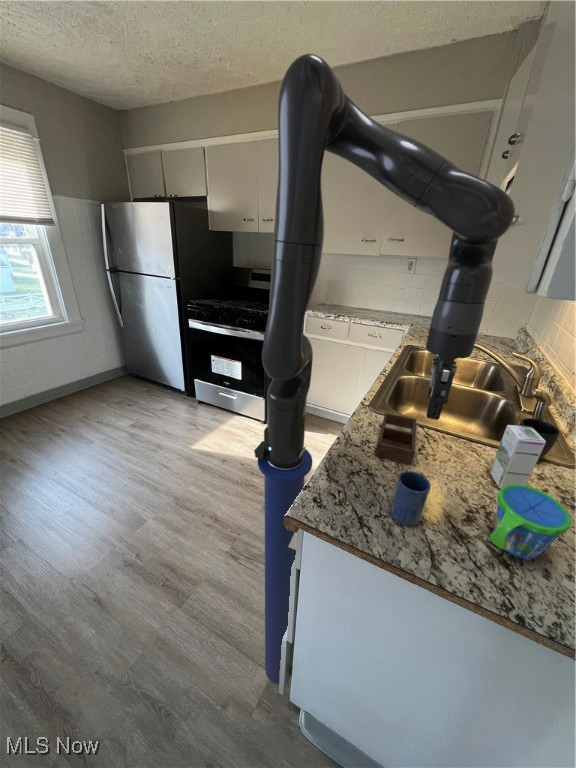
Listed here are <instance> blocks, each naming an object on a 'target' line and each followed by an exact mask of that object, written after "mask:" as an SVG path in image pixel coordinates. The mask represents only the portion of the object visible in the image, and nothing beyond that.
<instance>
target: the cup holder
mask: <svg viewBox="0 0 576 768" xmlns="http://www.w3.org/2000/svg"><path fill="white" fill-rule="evenodd" d="M416 434H417V418H415V417H414V418H413V417H409V416H404V415H399V414H394V413H391V412H390V413H389V412H384V416H383V419H382V423H381V428H380V433H379V437H378V440H377V446H376V451H375V457H378V458H382V459H387V460H390V461H393V462H397V463H402V464H404V465H405V464H406V465H410V466H412V464H413V462H414V461H413V460H414V457H415V453H416Z"/></svg>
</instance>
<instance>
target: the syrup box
mask: <svg viewBox="0 0 576 768" xmlns="http://www.w3.org/2000/svg"><path fill="white" fill-rule="evenodd" d="M505 428H506V430H505V429H504V431H505V432H503V435H502V438H501V440H500V443H499V445H498V449H497V451H496V454H495V456H494V459H493V462H492V464H491V468H490V470H489V475H490V476H491V478H492V479H493V481H494V483H495V485H496V486H497V488H498V489H500V490H501V489H502V488H503V487H504V486H507V485H511V484H517V485H524V486H527V485H528V482H529V480H530V478H531V476H532V473H534V472H533V471H534V469H535V467H536V465H537V463H538V462H539V461H538V458H539V456H540V454H541V452H542V450H543V447H544V445H545V443H546V441H545V440H544V439H543V438H542V437H541V436H540V435H539V434H538V433H537V432H536V431H535V430H534V429H533V428H532V427H527V426H519V424H517V425H516V424H507V425H506V427H505ZM537 461H538V462H537Z"/></svg>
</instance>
